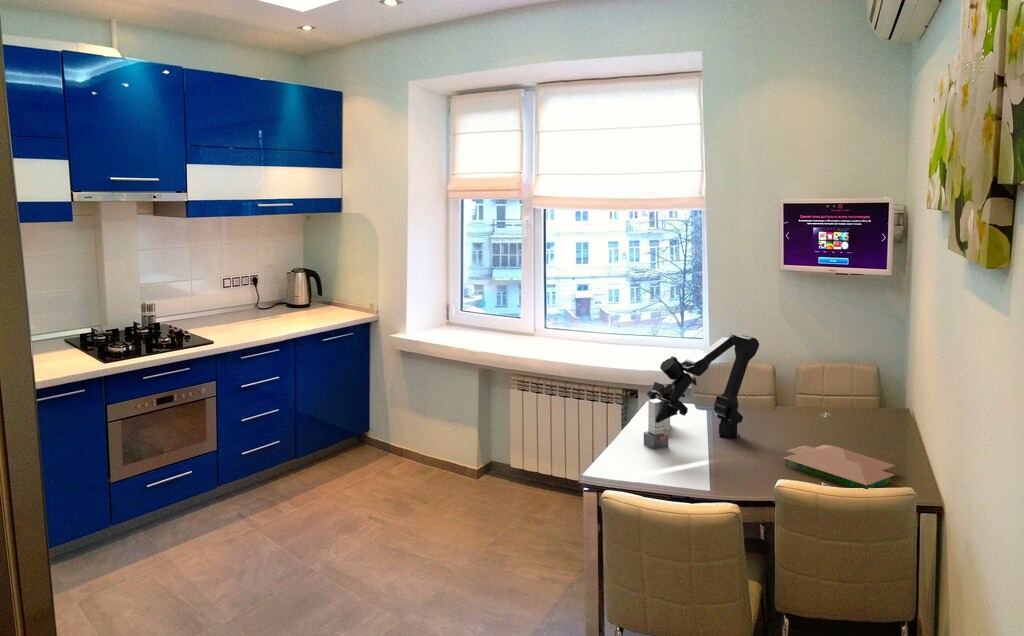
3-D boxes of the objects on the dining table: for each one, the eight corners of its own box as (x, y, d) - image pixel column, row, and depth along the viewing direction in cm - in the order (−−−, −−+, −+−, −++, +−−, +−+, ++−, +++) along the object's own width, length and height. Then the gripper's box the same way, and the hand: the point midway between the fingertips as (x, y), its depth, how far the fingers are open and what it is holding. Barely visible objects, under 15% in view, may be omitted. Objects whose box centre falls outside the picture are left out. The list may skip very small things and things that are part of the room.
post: (657, 433, 271) (657, 398, 269) (664, 436, 267) (664, 401, 265) (648, 434, 269) (648, 400, 267) (654, 437, 266) (654, 402, 264)
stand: (659, 443, 276) (659, 427, 275) (675, 450, 266) (675, 435, 266) (636, 447, 272) (636, 431, 271) (652, 455, 263) (652, 439, 262)
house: (817, 451, 264) (818, 429, 262) (908, 479, 236) (909, 454, 235) (775, 464, 251) (776, 441, 250) (866, 495, 224) (868, 470, 223)
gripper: (650, 368, 275) (625, 401, 272) (681, 379, 258) (654, 414, 255) (668, 386, 279) (643, 418, 276) (699, 398, 262) (673, 432, 260)
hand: (653, 420), depth 267 cm, fingers closed on post, 4 cm apart
